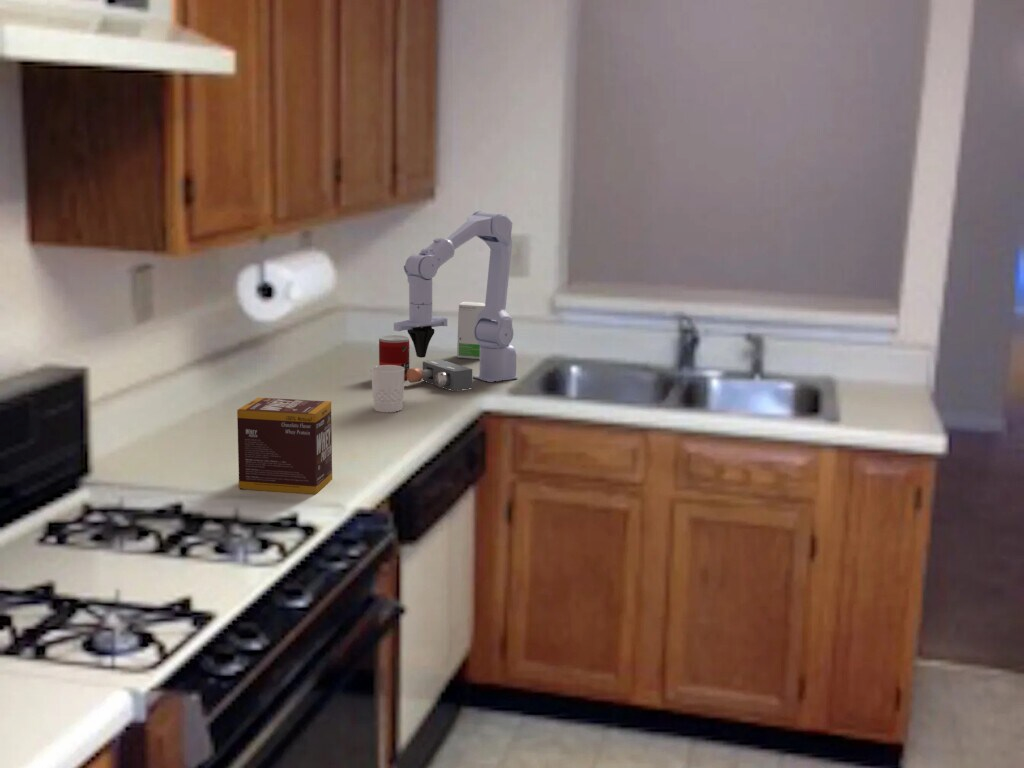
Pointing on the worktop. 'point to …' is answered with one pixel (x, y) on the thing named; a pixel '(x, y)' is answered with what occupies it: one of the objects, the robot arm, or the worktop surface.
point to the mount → (458, 374)
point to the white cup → (388, 387)
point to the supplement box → (285, 445)
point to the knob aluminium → (442, 379)
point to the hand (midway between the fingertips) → (421, 356)
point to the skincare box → (468, 330)
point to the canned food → (394, 351)
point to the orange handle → (418, 374)
